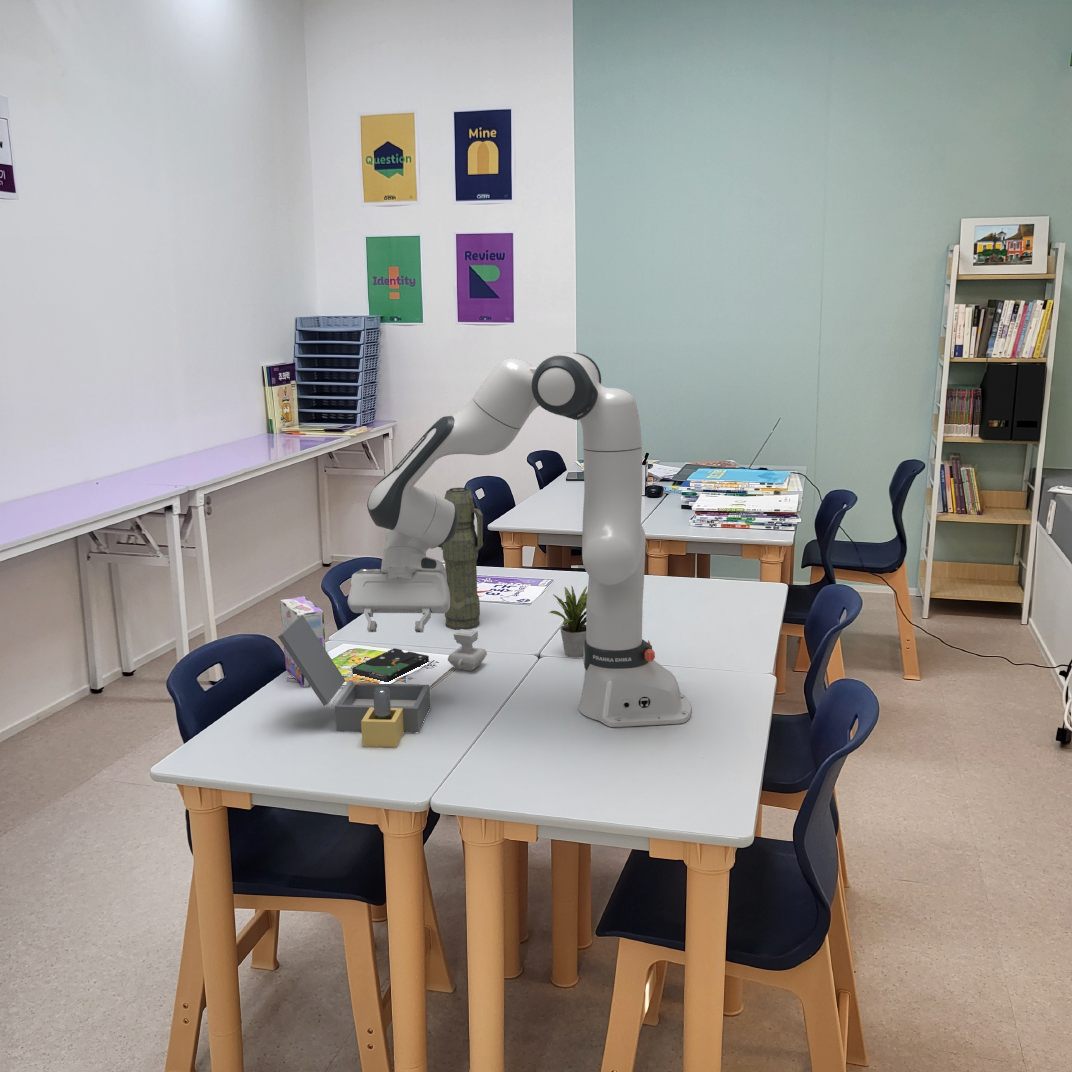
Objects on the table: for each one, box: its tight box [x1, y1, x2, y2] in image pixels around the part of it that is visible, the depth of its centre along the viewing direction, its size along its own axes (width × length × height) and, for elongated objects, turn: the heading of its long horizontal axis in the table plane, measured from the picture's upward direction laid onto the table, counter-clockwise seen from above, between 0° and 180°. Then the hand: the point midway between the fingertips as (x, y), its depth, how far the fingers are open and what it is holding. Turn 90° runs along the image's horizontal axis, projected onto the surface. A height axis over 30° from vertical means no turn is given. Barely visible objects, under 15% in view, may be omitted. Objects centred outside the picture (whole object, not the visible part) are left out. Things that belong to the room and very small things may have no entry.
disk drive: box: [351, 647, 430, 682], centre depth 221 cm, size 10×3×15 cm
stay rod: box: [373, 687, 391, 720], centre depth 185 cm, size 3×3×10 cm
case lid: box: [277, 615, 346, 707], centre depth 194 cm, size 16×12×1 cm
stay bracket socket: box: [361, 707, 405, 748], centre depth 186 cm, size 6×6×5 cm
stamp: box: [447, 629, 488, 671], centre depth 222 cm, size 9×7×8 cm
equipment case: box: [330, 679, 431, 733], centre depth 195 cm, size 17×12×6 cm
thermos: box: [437, 487, 484, 631], centre depth 248 cm, size 9×12×35 cm
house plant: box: [548, 585, 588, 658], centre depth 227 cm, size 14×14×16 cm
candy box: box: [279, 596, 326, 688], centre depth 217 cm, size 14×6×16 cm, turn 30°
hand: (395, 631), depth 194 cm, fingers open, 8 cm apart
